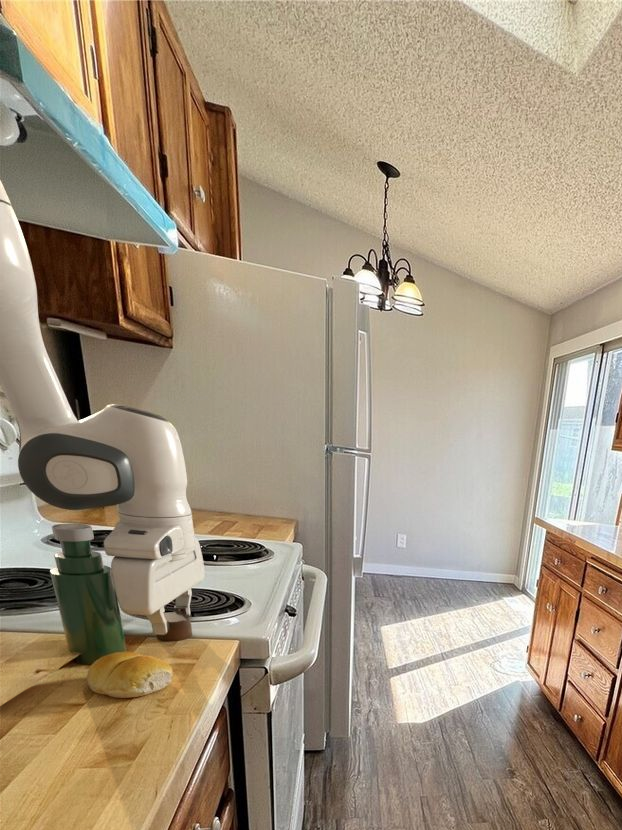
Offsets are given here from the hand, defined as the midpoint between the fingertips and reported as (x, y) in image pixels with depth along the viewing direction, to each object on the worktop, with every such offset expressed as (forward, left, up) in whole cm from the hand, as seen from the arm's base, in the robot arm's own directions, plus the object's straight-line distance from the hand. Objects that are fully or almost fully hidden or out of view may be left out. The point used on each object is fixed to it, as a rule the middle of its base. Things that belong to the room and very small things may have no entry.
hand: (173, 624), depth 85 cm
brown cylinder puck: (0, 0, -2) cm, 2 cm away
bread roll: (+2, -18, -2) cm, 18 cm away
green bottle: (-6, -9, -2) cm, 11 cm away
